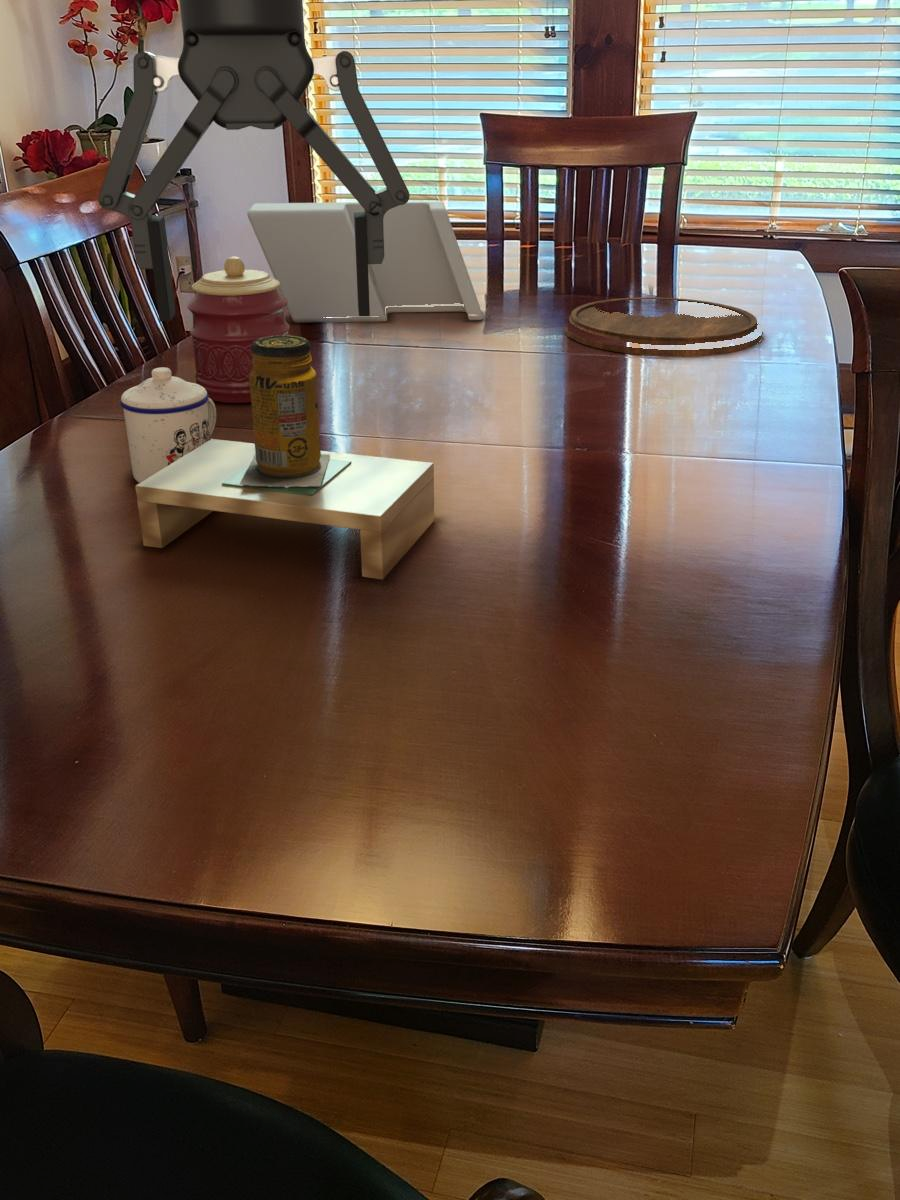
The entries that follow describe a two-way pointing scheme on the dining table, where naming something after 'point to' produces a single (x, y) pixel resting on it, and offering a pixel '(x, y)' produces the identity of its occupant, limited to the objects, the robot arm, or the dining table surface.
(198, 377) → the kitchen canister
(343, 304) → the bracket
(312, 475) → the condiment
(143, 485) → the oak shelf
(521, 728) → the dining table surface
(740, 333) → the cutting board
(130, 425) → the teacup with lid
